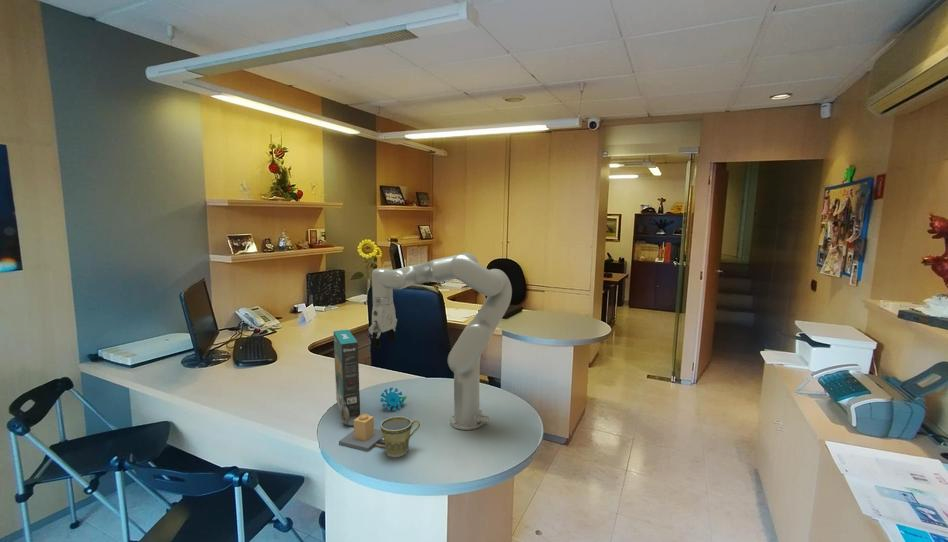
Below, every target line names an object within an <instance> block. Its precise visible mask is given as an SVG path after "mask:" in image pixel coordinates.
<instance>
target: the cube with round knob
mask: <svg viewBox="0 0 948 542" xmlns="http://www.w3.org/2000/svg"><path fill="white" fill-rule="evenodd" d="M374 429H375V417H374V416H372V415H369V414H368V413H360V415H359V417H358V418H356V419H355V420H354V426H353V431H354V438H356V439H360V440H364V441H366V440H368V439H369V438H370V437H371V436H373V435H374Z"/></svg>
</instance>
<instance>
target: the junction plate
mask: <svg viewBox="0 0 948 542" xmlns="http://www.w3.org/2000/svg"><path fill="white" fill-rule="evenodd" d="M338 445H340V446H343V447H347V448H351V449H354V450H355V449H356V450H360V451H364V452H370V451H371V450H372V449H373V448H375V447H379V448H382V449H386V448H385V443H384V438H383V435H382V431H381V429H378V428H374V435H373V436H371V437H370V438H369V439H368V440H366V441H364V440H360V439H356V438H354V430H353V431H352V432H350V433H348V434H347V435H345V436H344V437H342V438H341V439H339V440H338Z"/></svg>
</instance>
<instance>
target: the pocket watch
mask: <svg viewBox="0 0 948 542" xmlns="http://www.w3.org/2000/svg"><path fill="white" fill-rule="evenodd" d="M343 402H344V406H342V408H341V411H340V413H341V414H340V415H341V420H342V423H343V424H345V425H347V426H350V427H354V420H355V419H356V418H358V417H351V418H350V417H349V411H348V408H347V407H346V402H345V401H344V400H343Z"/></svg>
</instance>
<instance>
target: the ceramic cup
mask: <svg viewBox="0 0 948 542" xmlns="http://www.w3.org/2000/svg"><path fill="white" fill-rule="evenodd" d="M415 424H418V426H417V427H416V428H415V429H414V430H413V431H412V432H411V430H412V428H413V426H414V425H415ZM420 427H421V423H420V422H419V421H418V420H414V421H412V420H411V419H410V418H409V417H407V416H402V415H400V416H398V415H397V416H395V415H394V416H391V417H388V418H386V419H383V420H382V421H381V422H380V430H381V431H382V435H383V438H384V441H383V442H384V443H385V444H384V445H385V448H384V449H385V452H386V455H387V456H388V457H390V458H395V459H396V458H399V457H403V456H405V454H407V453H408V449H409V443H410V442H409V441H410V439H411V437H412V436H413V435H414V434H415V433H416V432H417V431H418V429H420Z"/></svg>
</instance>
